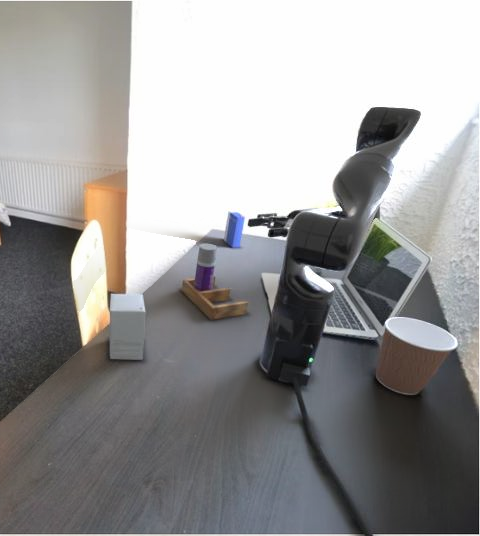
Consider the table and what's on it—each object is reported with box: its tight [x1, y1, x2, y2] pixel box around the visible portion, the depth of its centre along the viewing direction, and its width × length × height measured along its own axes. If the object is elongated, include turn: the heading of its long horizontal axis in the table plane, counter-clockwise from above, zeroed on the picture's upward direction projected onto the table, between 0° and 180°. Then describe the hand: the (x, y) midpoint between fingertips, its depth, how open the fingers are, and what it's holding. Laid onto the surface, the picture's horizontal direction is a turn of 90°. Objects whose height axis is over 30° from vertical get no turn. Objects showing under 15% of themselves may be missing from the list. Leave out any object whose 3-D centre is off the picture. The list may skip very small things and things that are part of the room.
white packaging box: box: [109, 293, 146, 361], centre depth 82 cm, size 7×7×13 cm
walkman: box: [223, 210, 246, 249], centre depth 137 cm, size 8×3×12 cm, turn 3°
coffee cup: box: [375, 316, 459, 396], centre depth 71 cm, size 10×10×12 cm
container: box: [194, 243, 218, 292], centre depth 102 cm, size 5×5×15 cm
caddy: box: [181, 275, 249, 321], centre depth 102 cm, size 10×16×4 cm, turn 13°
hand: (258, 228), depth 101 cm, fingers open, 8 cm apart
